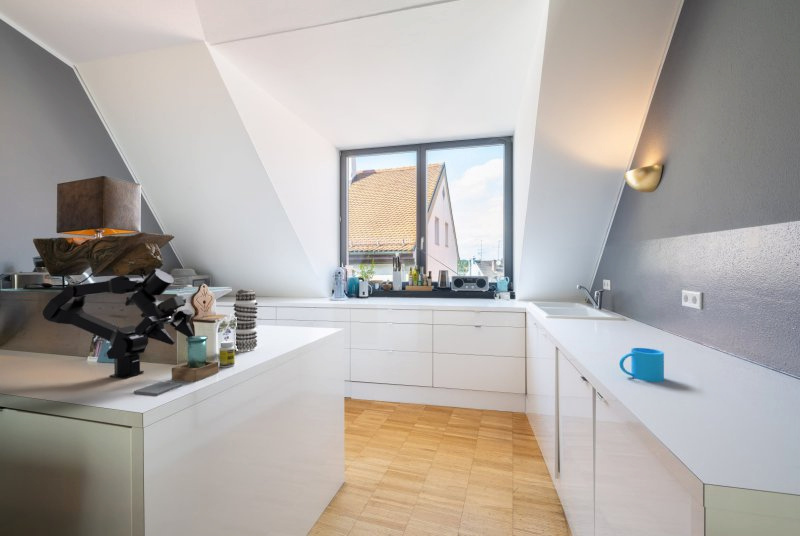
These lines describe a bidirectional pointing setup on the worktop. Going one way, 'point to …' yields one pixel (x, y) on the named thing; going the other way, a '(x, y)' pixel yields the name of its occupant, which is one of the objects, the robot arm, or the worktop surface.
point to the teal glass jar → (196, 351)
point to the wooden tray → (194, 372)
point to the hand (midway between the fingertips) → (183, 340)
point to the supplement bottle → (227, 354)
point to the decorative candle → (245, 319)
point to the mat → (158, 388)
